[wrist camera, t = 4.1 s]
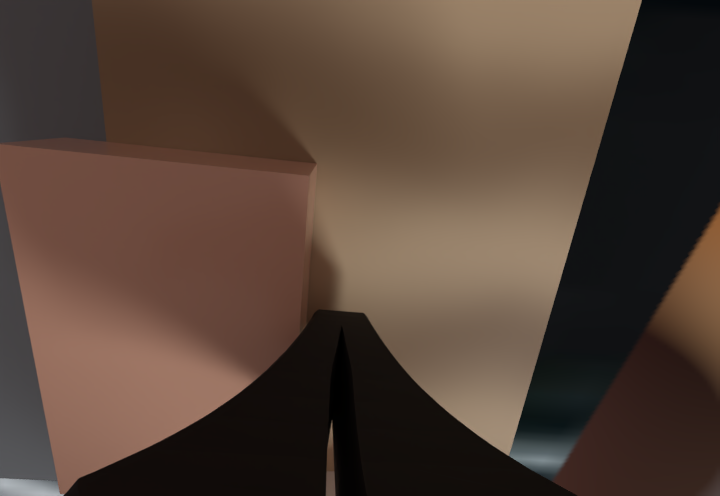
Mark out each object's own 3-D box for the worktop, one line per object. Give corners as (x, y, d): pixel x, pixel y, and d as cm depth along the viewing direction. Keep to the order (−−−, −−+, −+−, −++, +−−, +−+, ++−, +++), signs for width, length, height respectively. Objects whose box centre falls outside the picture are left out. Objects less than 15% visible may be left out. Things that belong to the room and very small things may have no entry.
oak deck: (445, 491, 19) (470, 586, 15) (192, 479, 18) (152, 575, 14) (554, 27, 12) (644, -11, 9) (168, -22, 12) (83, -86, 8)
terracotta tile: (297, 446, 13) (288, 505, 11) (104, 434, 12) (59, 493, 10) (317, 163, 10) (309, 175, 8) (65, 137, 9) (-8, 143, 7)
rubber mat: (181, 478, 18) (178, 486, 18) (-94, 465, 17) (-103, 472, 17) (151, -24, 12) (144, -28, 11) (-288, -79, 11) (-311, -86, 11)
